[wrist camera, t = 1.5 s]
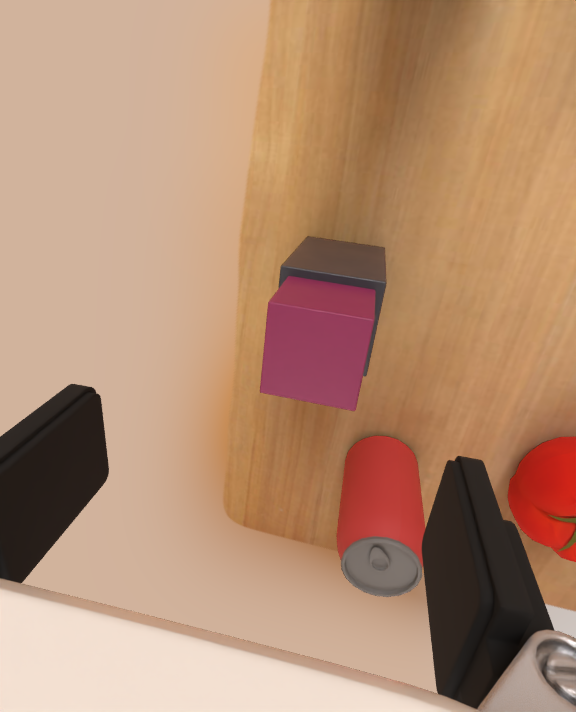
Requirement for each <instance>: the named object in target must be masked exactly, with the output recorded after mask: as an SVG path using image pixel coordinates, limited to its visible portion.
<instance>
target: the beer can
mask: <svg viewBox="0 0 576 712" xmlns="http://www.w3.org/2000/svg"><path fill="white" fill-rule="evenodd" d="M424 532H425V521H424V513H423V505H422V496H421V488H420V479H419V471H418V463H417V460H416V457H415V455H414V453H413V452H412V451H411V450H410V449H409V447H408V446H407V445H405V444H404V443H402V442H401V441H399V440H397V439H394V438H391V437H387V436H372V437H368V438H364V439H362V440H361V441H359V442H357V443H355V444H354V446H353V447H352V448H351V449H350V450H349V451H348V454H347V457H346V460H345V468H344V476H343V485H342V493H341V502H340V510H339V519H338V527H337V547H338V553H339V556H340V559H341V567H342V568H341V569H342V571H343V573H344V575H345V577H346V579H347V580H348V581H349V582H350V583H351V584H353V586H355V587H357V588H358V589H360V590H362V591H363V592H366V593H369V594H372V595H375V596H383V597H391V596H399V595H402V594H404V593H407V592H409V591H411V590H412V589H413V588H414V587H416V586H417V585H418V583H419V581H420V580H421V578H422V567H423V558H422V540H423V535H424Z"/></svg>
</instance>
